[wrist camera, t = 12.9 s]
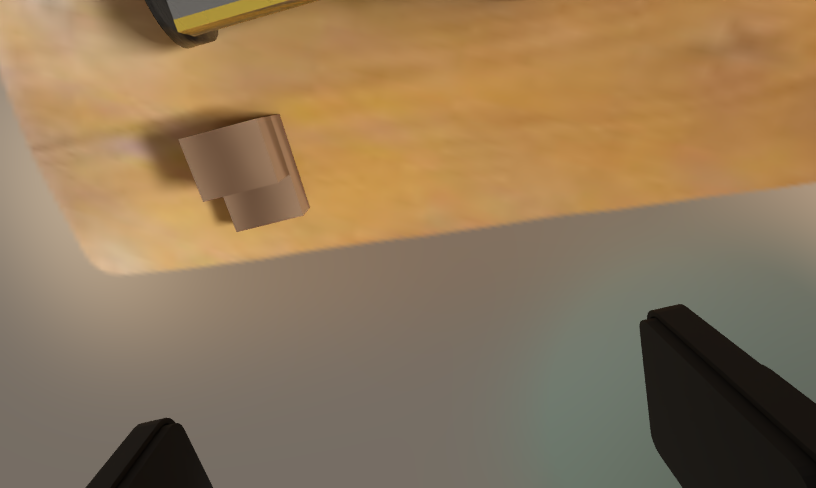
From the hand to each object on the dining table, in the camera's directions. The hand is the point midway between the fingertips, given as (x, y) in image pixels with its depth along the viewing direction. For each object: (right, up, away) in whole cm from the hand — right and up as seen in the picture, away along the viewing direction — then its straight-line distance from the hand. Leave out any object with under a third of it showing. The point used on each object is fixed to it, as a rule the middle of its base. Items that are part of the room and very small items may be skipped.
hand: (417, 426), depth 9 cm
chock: (-11, +9, +25) cm, 29 cm away
